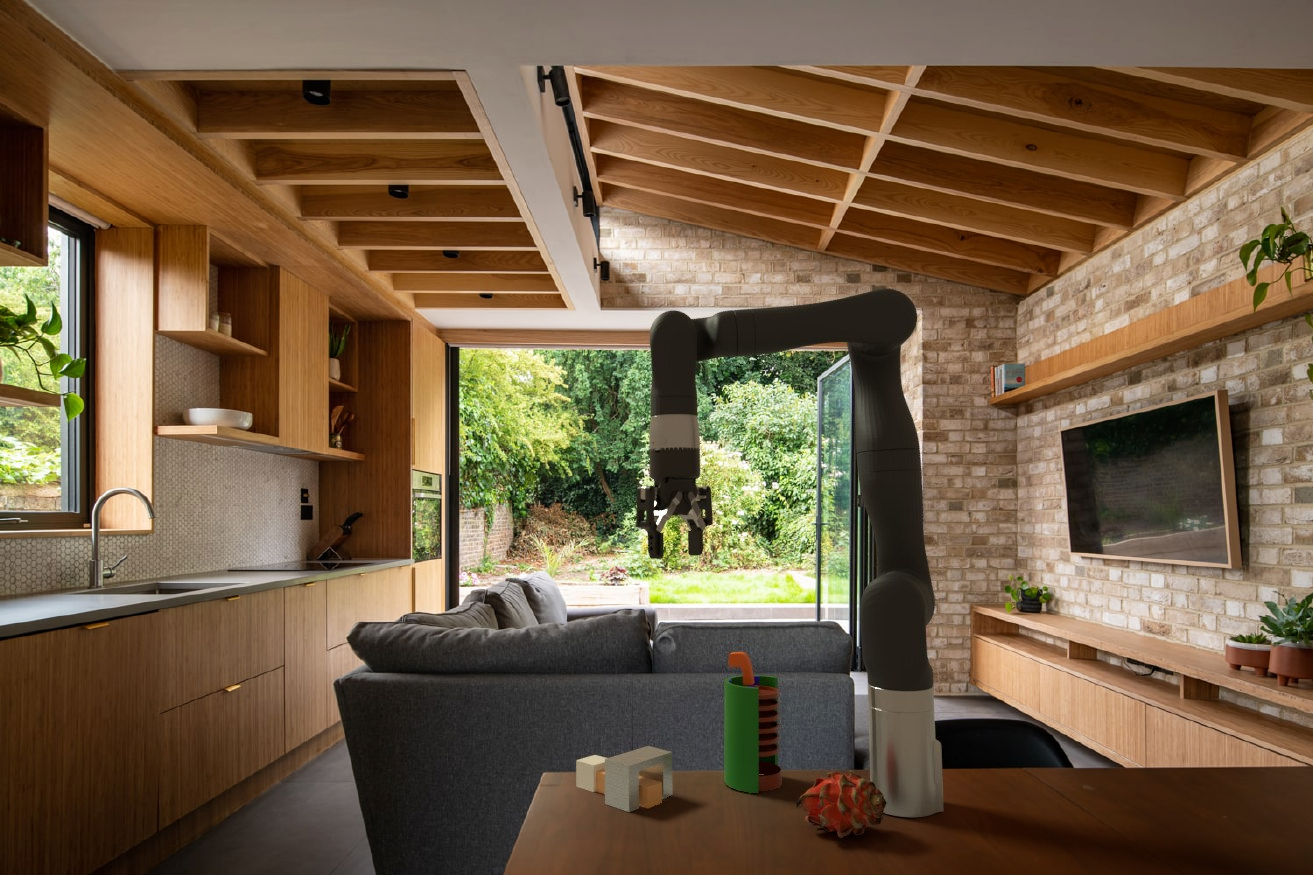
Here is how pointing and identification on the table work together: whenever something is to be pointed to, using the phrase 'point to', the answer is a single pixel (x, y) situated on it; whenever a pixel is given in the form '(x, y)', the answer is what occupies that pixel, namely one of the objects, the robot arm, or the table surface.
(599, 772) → the plug
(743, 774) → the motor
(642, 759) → the block
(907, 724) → the robot arm
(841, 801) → the dragon fruit
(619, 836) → the table surface
